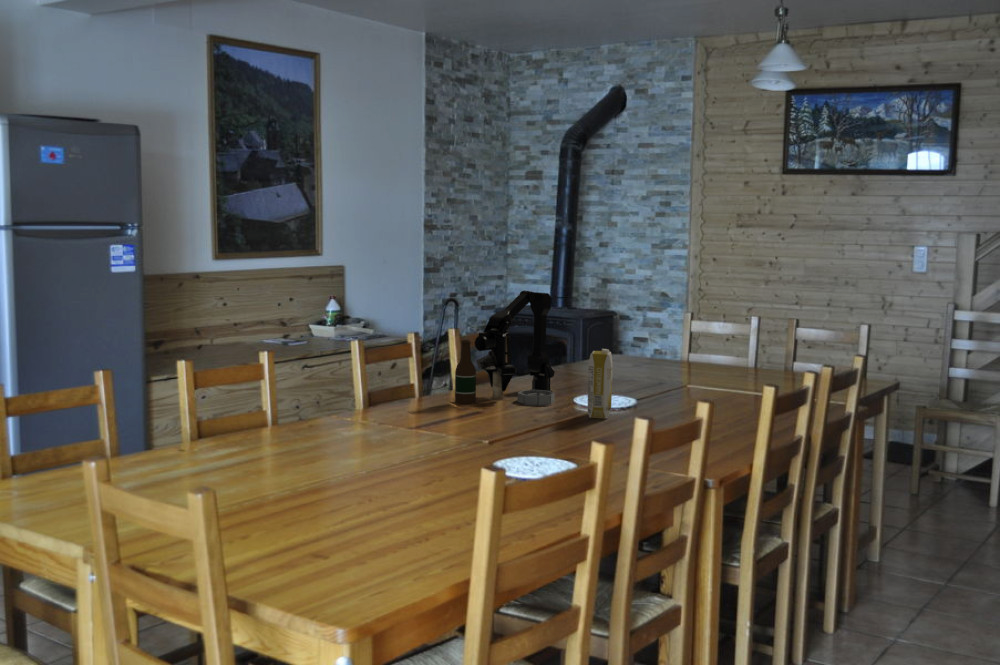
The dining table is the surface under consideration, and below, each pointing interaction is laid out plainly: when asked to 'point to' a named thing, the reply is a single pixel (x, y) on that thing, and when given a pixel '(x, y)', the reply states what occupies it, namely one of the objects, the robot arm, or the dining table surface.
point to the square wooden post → (497, 386)
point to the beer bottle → (465, 377)
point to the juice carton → (600, 384)
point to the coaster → (498, 399)
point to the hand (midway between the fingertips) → (498, 389)
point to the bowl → (536, 397)
